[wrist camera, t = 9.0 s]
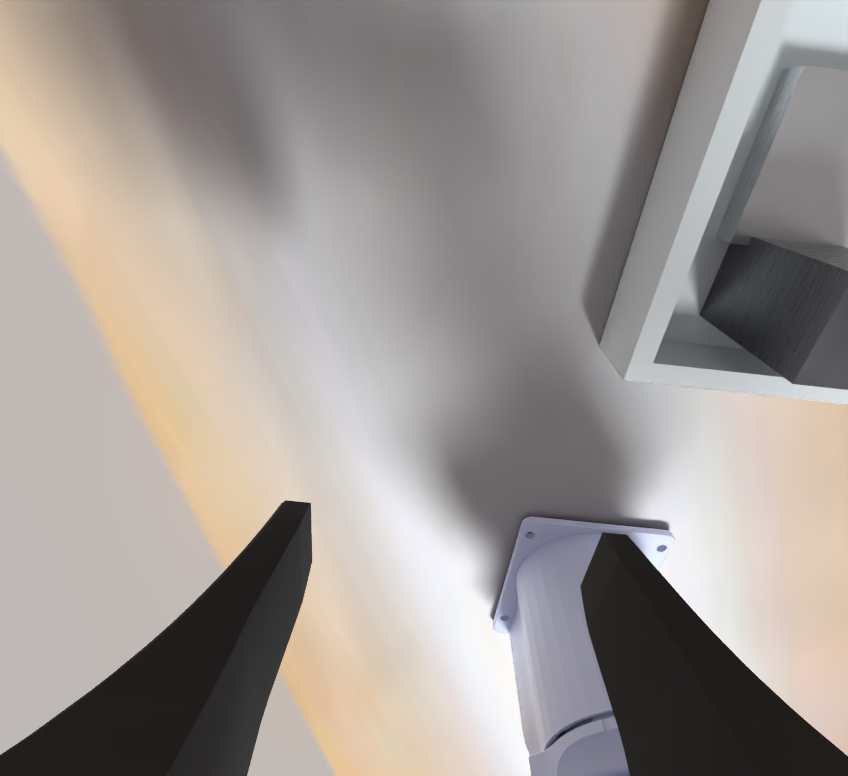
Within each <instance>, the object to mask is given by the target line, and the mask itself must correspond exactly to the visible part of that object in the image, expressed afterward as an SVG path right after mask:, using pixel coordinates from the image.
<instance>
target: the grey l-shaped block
mask: <svg viewBox="0 0 848 776" xmlns="http://www.w3.org/2000/svg"><path fill="white" fill-rule="evenodd" d="M715 237H716V238H718V239H721V240H723V241H726V242H728V243H730V244H729V246H728V249H727V251H726V253H725V256H724V258H723V260H722V263H721V265H720V268H719V270H718V272H717V275H716V277H715V279H714V282H713V284H712V287H711V289H710V291H709V294H708V296H707V298H706V301H705V303H704V306H703V308H702V310H701V313H700V316H701V317H702V318H704V319H705V320H706V321H708V322H709V323H711V324H712V325H713V326H715V327H716V328H717V329H719V330H720V331H721V332H723V333H724V334H725V335H727V336H728V337H730V338H731V339H732V340H734V341H735V342H736V343H738V344H739V345H740V346H742V347H743V348H744V349H746V350H747V351H749V352H750V353H751V354H753V355H754V356H755V357H757V358H758V359H759V360H761V361H762V362H763V363H765V364H766V365H767V366H769V367H770V368H772V369H773V370H774V371H776V372H777V373H778V374H780V375H781V376H782V377H784V378H785V379H786V380H788V381H789V382H791V383H792V384H797V385H807V386H816V387H825V388H834V389H843V390H848V70H840V69H832V68H824V67H816V66H807V65H804V66H798V67H792V68H786V69H783V70H782V73H781V75H780V78H779V80H778V83H777V85H776V88H775V90H774V93H773V95H772V98H771V100H770V102H769V105H768V107H767V110H766V112H765V115H764V117H763V120H762V122H761V125H760V127H759V130H758V132H757V135H756V137H755V140H754V142H753V145H752V147H751V150H750V152H749V154H748V157H747V159H746V162H745V164H744V167H743V169H742V172H741V174H740V177H739V179H738V182H737V184H736V187H735V189H734V192H733V194H732V197H731V199H730V202H729V204H728V206H727V209H726V211H725V214H724V216H723V219H722V221H721V224H720V226H719V229H718V231H717V234H716V236H715Z"/></svg>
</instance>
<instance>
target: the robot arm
mask: <svg viewBox="0 0 848 776" xmlns="http://www.w3.org/2000/svg"><path fill="white" fill-rule="evenodd" d="M527 532H531V533H527ZM674 541H675V539H674V536H673V534H672V533H671V532H670V531H668V530H662V529H652V528H642V527H632V526H622V525H612V524H602V523H592V522H582V521H572V520H562V519H552V518H542V517H527V518H525V519H524V520H523V521H522V523H521V526H520V530H519V533H518V537H517V540H516V544H515V547H514V551H513V554H512V558H511V561H510V565H509V568H508V572H507V575H506V579H505V582H504V586H503V589H502V592H501V596H500V599H499V603H498V606H497V610H496V613H495V617H494V620H493V629H494V630H495V631H496V632H499V633H508V634H510V640H511V648H512V655H513V663H514V670H515V677H516V685H517V692H518V700H519V707H520V715H521V722H522V730H523V735H524V739H525V743H526V746H527V749H528V751H529V754H530V756H529V762H530V770H531V776H848V756H847V755H846V754H844V753H843V752H842V751H841V750H840V749H838V748H837V747H836V746H835V745H834V744H832V743H831V742H830V741H829V740H828V739H826V738H825V737H824V736H823V735H822V734H820V733H819V732H818V731H817V730H816V729H814V728H813V727H812V726H811V725H810V724H809V723H808V722H806V721H805V720H804V719H803V718H802V717H801V716H800V715H798V714H797V713H796V712H795V711H794V710H793V709H792V708H791V707H789V706H788V705H787V704H786V703H785V702H784V701H783V700H782V699H781V698H780V697H779V696H778V695H776V694H775V693H774V692H773V691H772V690H771V689H770V688H769V687H768V686H767V685H766V684H765V683H764V682H762V681H761V680H760V679H759V678H758V677H757V676H756V675H755V674H754V673H753V672H752V671H751V670H750V669H749V668H748V667H747V666H746V665H745V664H744V663H743V662H742V661H741V660H740V659H739V658H738V657H737V656H736V655H735V654H734V653H733V652H732V651H731V650H730V649H729V648H728V647H727V646H726V645H725V644H724V643H723V642H722V641H721V640H720V639H719V638H718V637H717V636H716V635H715V634H714V632H713V631H712V630H711V629H710V628H709V627H708V626H707V625H706V624H705V623H704V622H703V621H702V620H701V619H700V617H699V616H698V615H697V614H696V613H695V612H694V611H693V610H692V609H691V608H690V606H689V605H688V604H687V603H686V602H685V601H684V600H683V599H682V597H681V596H680V595H679V594H678V593H677V592H676V591H675V589H674V588H673V587H672V586H671V585H670V584H669V583H668V581H667V580H666V579H665V578H664V577H663V576H662V574H661V573H660V572H659V570H660V568H661V566H662V564H663V562H664V560H665V558H666V557H667V555H668V553H669V551H670V549H671V547H672V545H673V543H674ZM311 563H312V535H311V503H305V502H295V501H284V502H283V503H281V505H280V506H279V507H278V509H277V510H276V511H275V513H274V514H273V515H272V516H271V518H270V519H269V520H268V521H267V523H266V524H265V525H264V526H263V528H262V529H261V530H260V531H259V533H258V534H257V535H256V536H255V537H254V538H253V540H252V541H251V542H250V543H249V544H248V545H247V547H246V548H245V549H244V550H243V551H242V552H241V553H240V554H239V556H238V557H237V558H236V559H235V560H234V561H233V562H232V563H231V564H230V566H229V567H228V568H227V569H226V570H225V571H224V572H223V573H222V574H221V575H220V576H219V577H218V579H216V581H214V582H213V583H212V584H211V586H210V587H209V588H208V589H207V590H206V591H205V592H204V593H203V594H202V595H201V596H200V597H199V598H198V599H197V600H196V601H195V602H194V603H193V604H192V605H191V606H190V607H189V608H188V609H186V610H185V612H183V613H182V614H181V615H180V616H179V617H178V618H177V619H176V620H175V621H174V622H173V623H172V624H170V625H169V626H168V627H167V628H166V629H165V630H164V631H163V632H162V633H160V634H159V635H158V636H157V637H156V638H155V639H154V640H153V641H151V642H150V643H149V644H148V645H147V646H145V647H144V648H143V649H142V650H141V651H139V652H138V653H137V654H136V655H135V656H133V657H132V658H131V659H130V660H129V661H127V662H126V663H125V664H124V665H122V666H121V667H120V668H119V669H118V670H117V671H115V672H114V673H113V674H112V675H110V676H109V677H108V678H106V679H105V680H104V681H103V682H101V683H100V684H99V685H98V686H96V687H95V688H94V689H92V690H91V691H90V692H88V693H87V694H86V695H84V696H83V697H81V698H80V699H79V700H77V701H76V702H75V703H73V704H72V705H71V706H69V707H68V708H66V709H65V710H64V711H62V712H61V713H60V714H58V715H57V716H56V717H54V718H53V719H52V720H50V721H49V722H47V723H46V724H45V725H43V726H42V727H40V728H39V729H38V730H36V731H35V732H34V733H32V734H31V735H29V736H28V737H26V738H25V739H24V740H22V741H21V742H19V743H18V744H16V745H15V746H13V747H12V748H10V749H9V750H7V751H6V752H4V753H3V754H1V755H0V776H247V773H248V769H249V766H250V762H251V758H252V754H253V750H254V746H255V743H256V739H257V735H258V731H259V727H260V724H261V720H262V717H263V714H264V711H265V707H266V704H267V701H268V698H269V695H270V692H271V689H272V687H273V684H274V681H275V678H276V675H277V673H278V670H279V667H280V664H281V661H282V659H283V656H284V653H285V650H286V647H287V644H288V642H289V639H290V636H291V633H292V630H293V627H294V624H295V622H296V619H297V616H298V613H299V610H300V607H301V604H302V601H303V597H304V593H305V589H306V585H307V581H308V576H309V572H310V568H311Z"/></svg>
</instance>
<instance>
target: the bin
mask: <svg viewBox="0 0 848 776" xmlns="http://www.w3.org/2000/svg"><path fill="white" fill-rule="evenodd" d="M804 65H807V66H816V67H824V68H832V69H840V70H848V0H710V1H709V4H708V7H707V10H706V13H705V16H704V19H703V22H702V26H701V29H700V32H699V35H698V38H697V41H696V44H695V48H694V51H693V54H692V57H691V60H690V63H689V66H688V69H687V73H686V76H685V79H684V82H683V85H682V88H681V91H680V95H679V98H678V101H677V104H676V107H675V110H674V113H673V116H672V120H671V123H670V126H669V129H668V132H667V135H666V138H665V142H664V145H663V148H662V151H661V154H660V157H659V160H658V163H657V167H656V170H655V173H654V176H653V179H652V182H651V185H650V189H649V192H648V195H647V198H646V201H645V204H644V207H643V210H642V214H641V217H640V220H639V223H638V226H637V229H636V232H635V236H634V239H633V242H632V245H631V248H630V251H629V254H628V258H627V261H626V264H625V267H624V270H623V273H622V276H621V279H620V283H619V286H618V289H617V292H616V295H615V298H614V301H613V305H612V308H611V311H610V314H609V317H608V320H607V323H606V326H605V330H604V333H603V336H602V339H601V342H600V345H599V347H600V348H601V349H602V351H603V352H604V354H605V355H606V356H607V358H608V359H609V361H610V362H611V363H612V365H613V366H614V368H615V369H616V370H617V372H618V373H619V375H620V376H621V377H622V379H623V380H624V381H634V382H643V383H652V384H662V385H671V386H680V387H690V388H699V389H708V390H718V391H727V392H736V393H745V394H755V395H764V396H773V397H783V398H792V399H801V400H811V401H820V402H829V403H839V404H848V390H843V389H834V388H825V387H816V386H807V385H797V384H792V383H791V382H789V381H788V380H786V379H785V378H784V377H782V376H781V375H780V374H778V373H777V372H776V371H774V370H773V369H772V368H770V367H769V366H767V365H766V364H765V363H763V362H762V361H761V360H759V359H758V358H757V357H755V356H754V355H753V354H751V353H750V352H749V351H747V350H746V349H744V348H743V347H742V346H740V345H739V344H738V343H736V342H735V341H734V340H732V339H731V338H730V337H728V336H727V335H725V334H724V333H723V332H721V331H720V330H719V329H717V328H716V327H715V326H713V325H712V324H711V323H709V322H708V321H706V320H705V319H704V318H702V317H701V316H700V313H701V310H702V308H703V306H704V303H705V301H706V298H707V296H708V294H709V291H710V289H711V287H712V284H713V282H714V279H715V277H716V275H717V272H718V270H719V268H720V265H721V263H722V260H723V258H724V256H725V253H726V251H727V249H728V246H729V244H730V243H728V242H726V241H723V240H721V239H718V238H716V237H715V236H716V234H717V231H718V229H719V226H720V224H721V221H722V219H723V216H724V214H725V211H726V209H727V206H728V204H729V202H730V199H731V197H732V194H733V192H734V189H735V187H736V184H737V182H738V179H739V177H740V174H741V172H742V169H743V167H744V164H745V162H746V159H747V157H748V154H749V152H750V150H751V147H752V145H753V142H754V140H755V137H756V135H757V132H758V130H759V127H760V125H761V122H762V120H763V117H764V115H765V112H766V110H767V107H768V105H769V102H770V100H771V98H772V95H773V93H774V90H775V88H776V85H777V83H778V80H779V78H780V75H781V73H782V70H783V69H786V68H792V67H798V66H804Z"/></svg>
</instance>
